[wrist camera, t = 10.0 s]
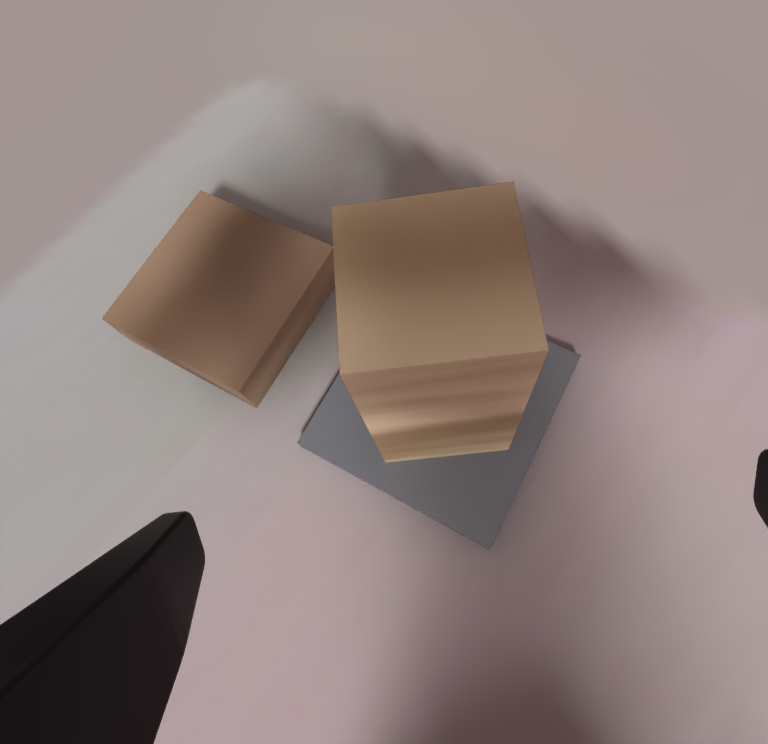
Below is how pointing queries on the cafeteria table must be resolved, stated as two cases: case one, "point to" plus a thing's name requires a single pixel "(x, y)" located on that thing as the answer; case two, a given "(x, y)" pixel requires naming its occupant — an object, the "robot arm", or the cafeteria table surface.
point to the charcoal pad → (443, 474)
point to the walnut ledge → (226, 295)
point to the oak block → (437, 319)
